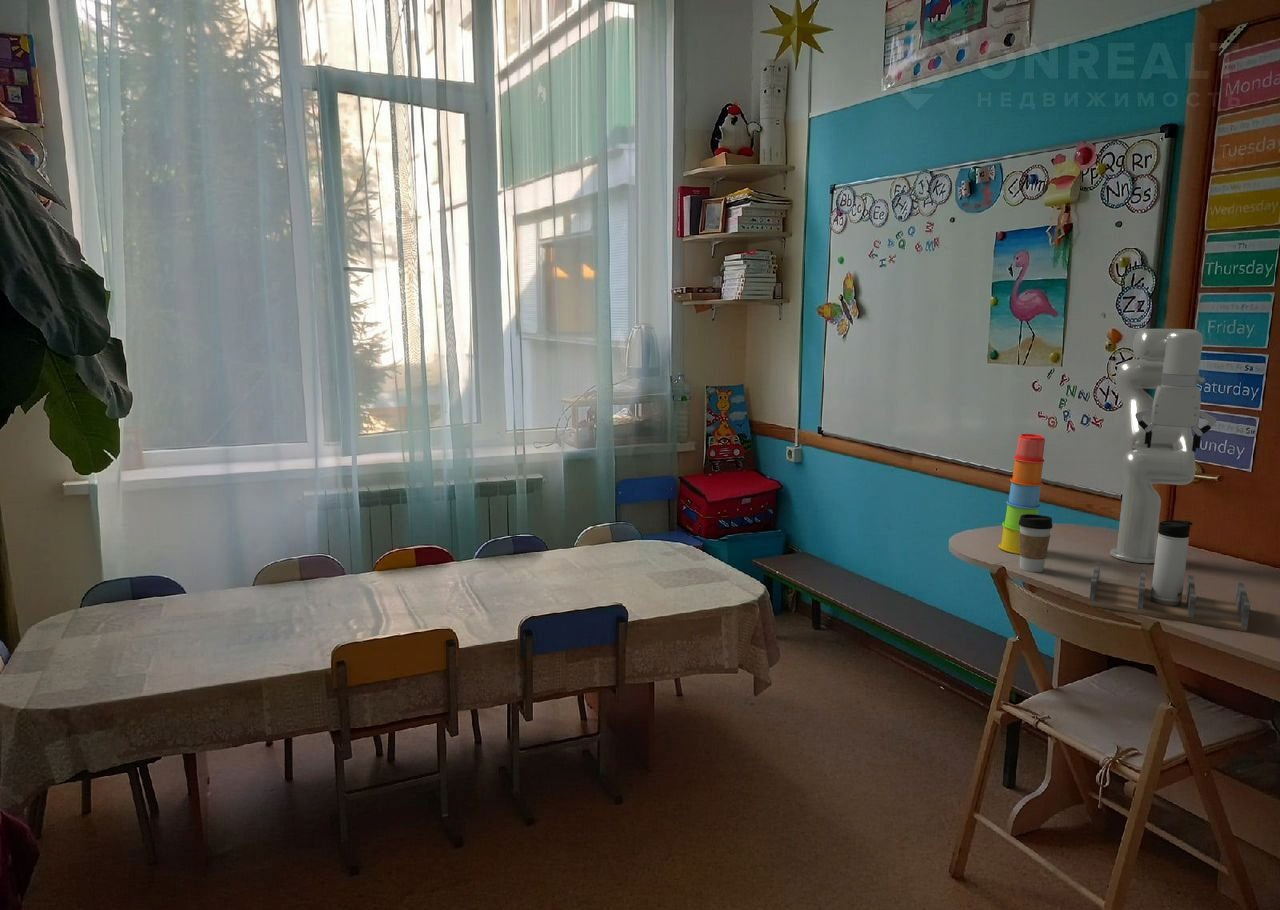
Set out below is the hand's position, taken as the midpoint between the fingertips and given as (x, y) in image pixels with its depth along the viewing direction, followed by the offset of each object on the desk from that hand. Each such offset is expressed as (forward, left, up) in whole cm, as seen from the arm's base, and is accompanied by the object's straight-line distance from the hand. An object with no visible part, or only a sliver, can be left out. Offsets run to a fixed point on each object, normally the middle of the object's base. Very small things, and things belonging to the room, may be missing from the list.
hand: (1170, 448), depth 210 cm
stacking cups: (-15, -35, -36) cm, 53 cm away
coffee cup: (+3, -29, -36) cm, 46 cm away
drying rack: (+18, +2, -36) cm, 40 cm away
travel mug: (+17, +2, -35) cm, 39 cm away
